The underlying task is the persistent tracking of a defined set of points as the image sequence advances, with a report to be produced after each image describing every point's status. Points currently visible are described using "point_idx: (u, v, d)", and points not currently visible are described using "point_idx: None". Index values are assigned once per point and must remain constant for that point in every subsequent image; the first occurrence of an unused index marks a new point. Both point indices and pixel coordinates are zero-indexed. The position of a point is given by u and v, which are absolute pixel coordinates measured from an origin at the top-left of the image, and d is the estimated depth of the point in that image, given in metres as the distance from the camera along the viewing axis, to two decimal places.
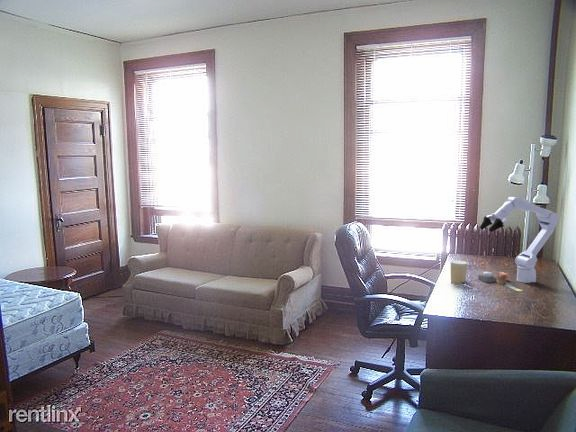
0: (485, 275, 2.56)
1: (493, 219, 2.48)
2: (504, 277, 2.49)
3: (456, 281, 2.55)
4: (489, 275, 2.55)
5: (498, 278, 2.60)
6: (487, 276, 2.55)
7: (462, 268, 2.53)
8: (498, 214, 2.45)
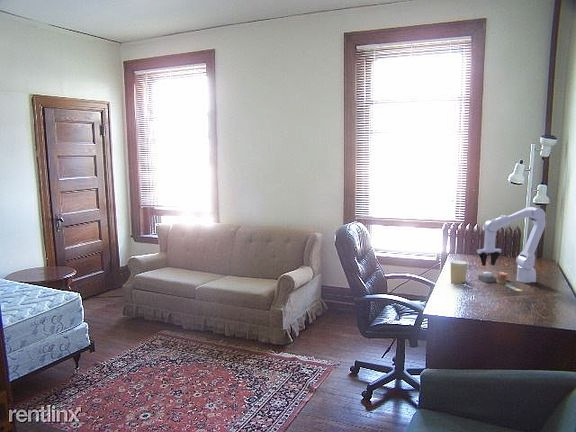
0: (485, 275, 2.56)
1: (490, 251, 2.56)
2: (504, 277, 2.49)
3: (456, 281, 2.55)
4: (489, 275, 2.55)
5: (498, 278, 2.60)
6: (487, 276, 2.55)
7: (462, 268, 2.53)
8: None
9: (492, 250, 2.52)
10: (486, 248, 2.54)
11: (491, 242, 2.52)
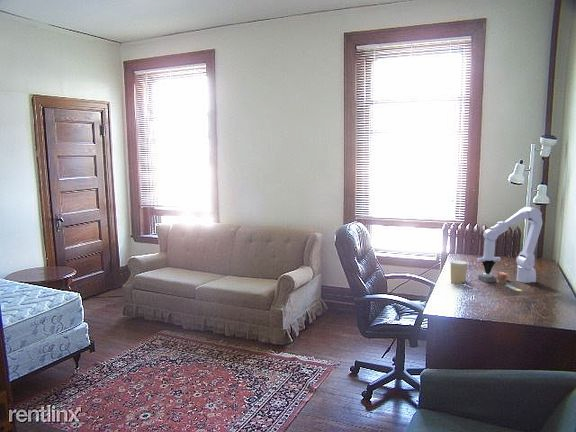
0: (485, 276, 2.56)
1: (489, 260, 2.57)
2: (504, 277, 2.49)
3: (456, 281, 2.55)
4: (489, 276, 2.55)
5: (498, 278, 2.60)
6: (487, 277, 2.55)
7: (462, 268, 2.53)
8: None
9: (491, 259, 2.53)
10: (485, 256, 2.54)
11: (490, 251, 2.53)
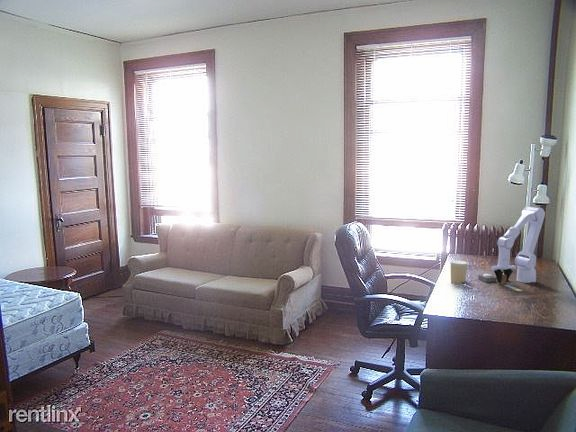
0: None
1: (504, 268, 2.51)
2: (504, 277, 2.49)
3: (456, 281, 2.55)
4: None
5: None
6: None
7: (462, 268, 2.53)
8: None
9: (506, 267, 2.47)
10: (500, 265, 2.48)
11: (507, 259, 2.47)
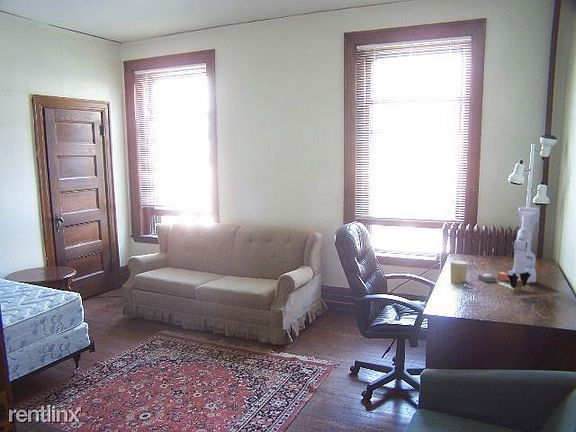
0: None
1: (520, 272, 2.39)
2: (520, 283, 2.38)
3: (456, 281, 2.55)
4: None
5: (498, 278, 2.60)
6: None
7: (462, 268, 2.53)
8: None
9: (524, 271, 2.36)
10: (517, 269, 2.36)
11: (525, 262, 2.36)
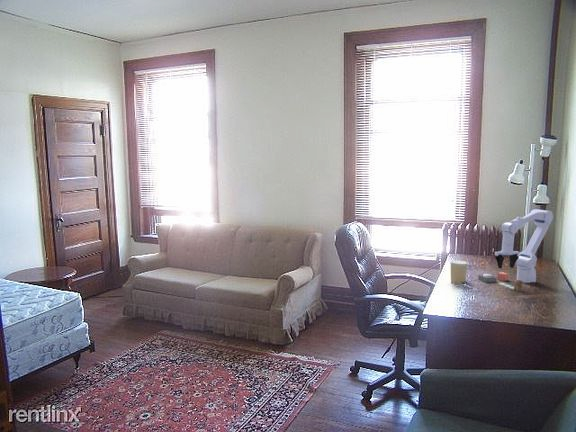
0: None
1: (508, 254, 2.50)
2: (520, 283, 2.38)
3: (456, 281, 2.55)
4: None
5: (498, 278, 2.60)
6: None
7: (462, 268, 2.53)
8: None
9: (510, 252, 2.47)
10: (504, 250, 2.48)
11: (511, 244, 2.46)
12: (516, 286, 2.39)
